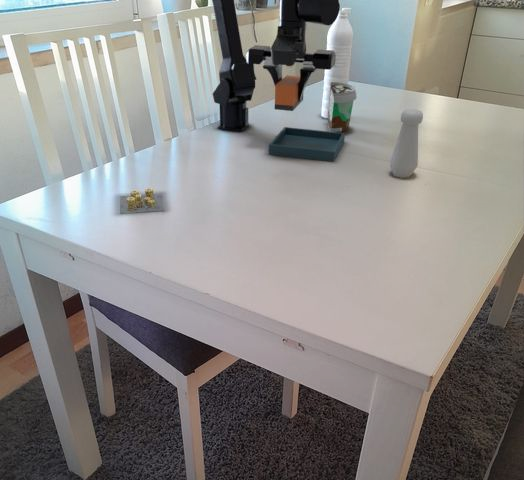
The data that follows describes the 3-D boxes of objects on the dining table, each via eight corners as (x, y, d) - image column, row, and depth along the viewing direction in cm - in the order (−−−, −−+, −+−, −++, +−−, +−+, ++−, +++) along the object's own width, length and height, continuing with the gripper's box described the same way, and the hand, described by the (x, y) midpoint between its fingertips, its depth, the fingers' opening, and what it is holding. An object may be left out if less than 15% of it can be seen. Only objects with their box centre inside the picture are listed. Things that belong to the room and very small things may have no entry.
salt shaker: (418, 172, 117) (430, 108, 109) (412, 181, 113) (425, 115, 105) (391, 167, 119) (402, 104, 111) (385, 176, 115) (395, 111, 107)
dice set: (128, 210, 100) (126, 200, 99) (127, 199, 104) (126, 189, 103) (155, 208, 101) (154, 198, 100) (154, 197, 105) (153, 188, 103)
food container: (355, 137, 135) (360, 94, 129) (330, 136, 135) (334, 93, 129) (350, 122, 145) (354, 82, 139) (327, 122, 145) (330, 81, 139)
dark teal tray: (268, 154, 125) (268, 144, 123) (284, 136, 135) (284, 126, 134) (333, 161, 121) (334, 151, 120) (344, 142, 132) (345, 133, 131)
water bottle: (341, 121, 146) (352, 12, 130) (318, 118, 148) (326, 11, 132) (349, 112, 152) (360, 8, 137) (326, 110, 154) (335, 7, 138)
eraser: (274, 109, 120) (274, 84, 117) (285, 98, 127) (286, 75, 124) (292, 111, 119) (293, 86, 116) (303, 99, 126) (304, 76, 123)
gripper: (237, 22, 109) (239, 105, 119) (328, 27, 105) (322, 112, 115) (254, 15, 117) (254, 93, 127) (339, 20, 113) (332, 100, 123)
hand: (289, 99), depth 123 cm, fingers closed on eraser, 4 cm apart
